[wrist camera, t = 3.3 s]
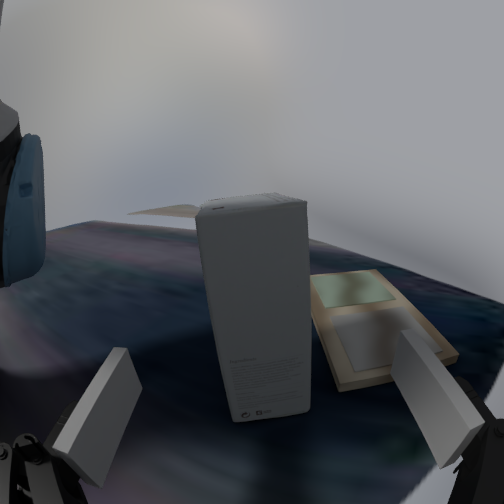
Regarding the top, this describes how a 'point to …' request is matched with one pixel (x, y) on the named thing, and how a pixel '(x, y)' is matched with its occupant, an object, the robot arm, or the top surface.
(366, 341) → the board
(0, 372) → the top surface
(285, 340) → the skincare box
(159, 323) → the top surface
